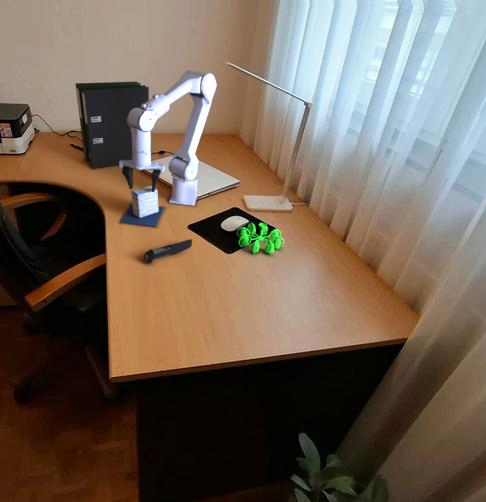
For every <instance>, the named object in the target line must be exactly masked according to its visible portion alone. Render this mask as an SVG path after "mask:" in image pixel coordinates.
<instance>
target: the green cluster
mask: <svg viewBox="0 0 486 502" xmlns="http://www.w3.org/2000/svg"><path fill="white" fill-rule="evenodd" d="M258 227H259V228H260V231H259V234H257V233H256V232H257V231H256V225H255V224H254V223H253V222H249V223H248V224H247V227H243V226H242V227H239V228H237V231H236V235H237V237H238V242H237V243H238V245H239V247H241V248H245V247H248V246H249V245H250V244H251V242H252V241H253V243H252V244H251V252H252V254H256V253H258V252H259V250H260V242H262V243H264V252H265V253H266V254H267V255H273V254H274V252H275V249H276V250H280V249H282V248H283V247H284V246H285V240H284V238H282V237H281V236H282V232H281V230H280V229H278V228H277V229H276V228H275V229H273V230H271V231H270V232H269V234H268V230H269V227H268V223H266V222H265V223H264V222H260V223H259V224H258ZM239 231H240V232H239ZM267 234H268V235H267ZM252 237H253V238H252ZM267 238H268V239H267ZM254 240H255V241H254ZM259 241H260V242H259ZM281 244H282V246H281Z"/></svg>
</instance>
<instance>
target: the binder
mask: <svg viewBox="0 0 486 502" xmlns="http://www.w3.org/2000/svg"><path fill="white" fill-rule="evenodd" d="M74 84H75V92H76V100H77V101H76V102H77V108H78V115H79V116H78V117H79V122H80V123H79V125H80V134H81V141H82V149H83V157H84V160H85V161H86V162H87V163H89V166H90V167H91V169H92V170H96V169H104V168H110V167H116V166H119V161H120V160H133V154H132V132H131V128H130V126H129V124H128V123H127V118H128V115H129V112H130V111H131V110H132V109H134V108H140V107H141V105H142V104H143V103H144V104H145V103H146V102H147V101H149V100H150V86H146V84H145V85H144V84H143V85H141V84H142V83H141V82H138V81H111V82H110V81H109V82H108V81H107V82H76V83H74Z"/></svg>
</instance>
